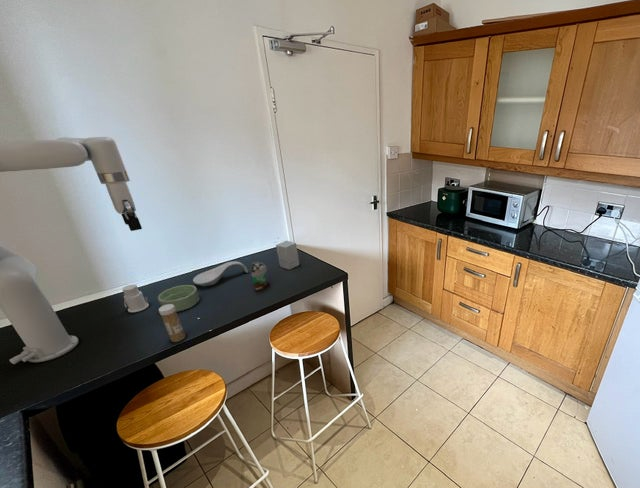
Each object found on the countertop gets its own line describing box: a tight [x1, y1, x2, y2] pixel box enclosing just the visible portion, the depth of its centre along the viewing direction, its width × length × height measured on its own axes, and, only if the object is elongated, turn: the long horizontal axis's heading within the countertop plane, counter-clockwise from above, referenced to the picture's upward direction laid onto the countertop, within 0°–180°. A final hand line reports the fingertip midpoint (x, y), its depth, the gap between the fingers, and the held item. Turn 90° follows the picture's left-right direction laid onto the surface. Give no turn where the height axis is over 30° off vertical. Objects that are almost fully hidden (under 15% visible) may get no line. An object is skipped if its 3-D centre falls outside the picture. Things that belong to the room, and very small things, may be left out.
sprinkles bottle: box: [158, 304, 186, 343], centre depth 110 cm, size 5×5×13 cm
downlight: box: [122, 284, 150, 313], centre depth 128 cm, size 8×7×10 cm
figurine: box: [250, 261, 268, 292], centre depth 145 cm, size 12×6×10 cm, turn 22°
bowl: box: [157, 284, 201, 313], centre depth 132 cm, size 14×14×6 cm
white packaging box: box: [275, 240, 300, 270], centre depth 164 cm, size 7×7×13 cm
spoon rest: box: [192, 260, 249, 287], centre depth 151 cm, size 24×12×7 cm, turn 135°
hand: (133, 226), depth 111 cm, fingers open, 9 cm apart
